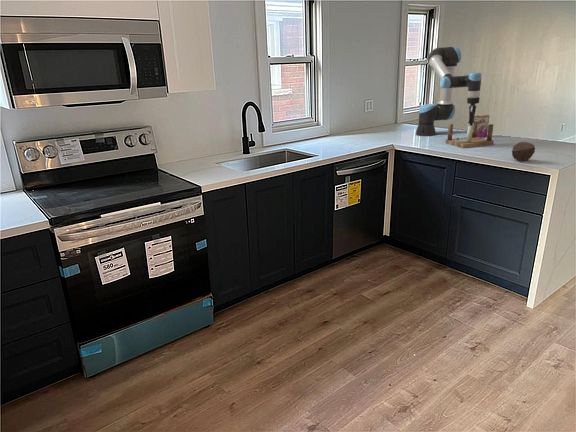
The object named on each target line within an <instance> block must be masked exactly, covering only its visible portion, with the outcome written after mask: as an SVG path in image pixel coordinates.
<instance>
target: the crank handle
mask: <svg viewBox="0 0 576 432" xmlns="http://www.w3.org/2000/svg"><path fill="white" fill-rule="evenodd" d="M472 129H473V126H469V125H467V134H466V137H467V140H459V138H460V137H454V139H455V142H471V139H472Z"/></svg>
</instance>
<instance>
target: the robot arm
mask: <svg viewBox="0 0 576 432" xmlns="http://www.w3.org/2000/svg"><path fill="white" fill-rule="evenodd" d="M461 59H462V53H461V49H460V48H459V47H458V46H444V47H435V48H433V49H432V50H431V51H430V52H429V54H428V56H427V63H428V65H429V66H430V67H431V68H433V70H434V71H435V73H436V75H437V76H438V78H439V80H440V81H439V86H440V93H439V100H438V101H437V102H436V104H435V103H427V104H423V105H421V106H420V107H419V108H418V109H419V111H418V125H417V128H416V131H415V135H416V136H420V137H431V136H435V135H436V127H435V124H434V123H435V121H447V120H452V119H453V118H454V115H455V113H456V106H455V105H454V103H453V101H452V97H453V96H452V95H453V88H454V89H457V88H467V92H466V94H467V99H466V103H467V104H468V105H469V104H470V105H469V106H468V109H469V110H468V111H469V112H468V113H469V114H468V115H469V116H468V122H467V124H468V126H474V123H475V122H474V118H475V115H476V109H477V105H476V104H479V103H480V97H481V86H482V72H471V73H469V74H466V75H456V76H455V68H457V66H458V64H459V63H460V62H461ZM472 133H473V129H472Z"/></svg>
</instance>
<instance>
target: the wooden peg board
mask: <svg viewBox="0 0 576 432" xmlns="http://www.w3.org/2000/svg"><path fill="white" fill-rule="evenodd" d="M474 122H475V123H474V126H473V133H472V139H471V142H455V138H453V132H454V123H449V124H448V125H447V126H448V127H447V139H445V143H444V144H447V145H450V146H454V147H457V148H461V149H468V148H476V147H483V146H493V145H494V140H493V132H494V124H491V123H490V124H489V123H488V131H487V137H486V138H484V137H476V134H477V124H478V122H477V121H474ZM458 138H459V140H467V136H466V137H458Z"/></svg>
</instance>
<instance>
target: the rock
mask: <svg viewBox="0 0 576 432" xmlns="http://www.w3.org/2000/svg"><path fill="white" fill-rule="evenodd" d="M535 150H536V147H535V144H533V143H531V142H527V141H520V142H518V143H516V144H514V146H513V147H512V150H511V155H512V158H513V159H514V160H515V161H517V162H522V161H527V162H528V161H529V160H530V159H531V158H532V157H533V155H534V154H535V152H536V151H535Z"/></svg>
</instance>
